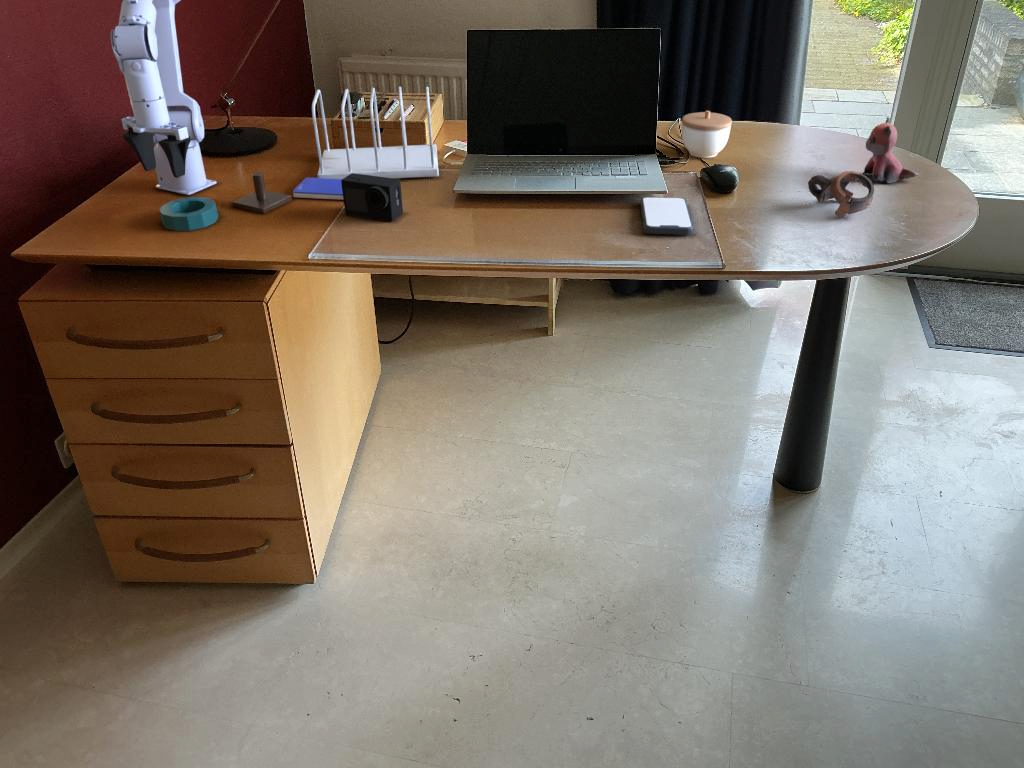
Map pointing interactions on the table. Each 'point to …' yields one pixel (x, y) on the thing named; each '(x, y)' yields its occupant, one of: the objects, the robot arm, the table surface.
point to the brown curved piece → (841, 191)
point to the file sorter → (375, 150)
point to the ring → (188, 213)
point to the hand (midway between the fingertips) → (165, 172)
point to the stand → (261, 197)
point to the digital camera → (372, 197)
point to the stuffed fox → (885, 155)
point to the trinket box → (705, 133)
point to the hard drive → (319, 189)
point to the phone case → (666, 216)
